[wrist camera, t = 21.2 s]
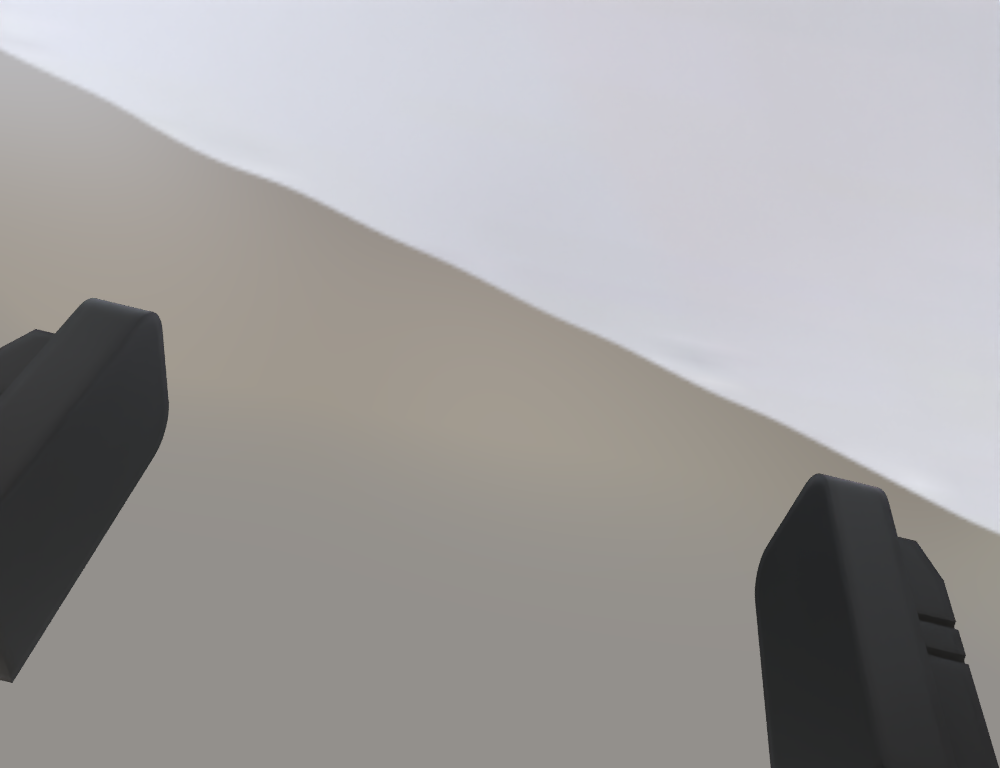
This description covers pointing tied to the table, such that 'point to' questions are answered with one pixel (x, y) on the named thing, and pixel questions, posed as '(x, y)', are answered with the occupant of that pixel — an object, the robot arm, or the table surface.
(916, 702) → the robot arm
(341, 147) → the table surface
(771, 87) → the table surface
